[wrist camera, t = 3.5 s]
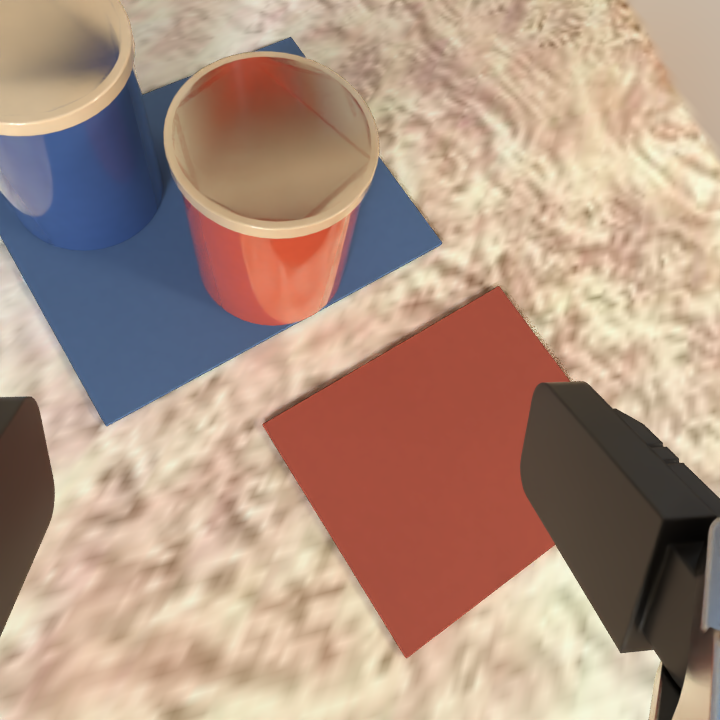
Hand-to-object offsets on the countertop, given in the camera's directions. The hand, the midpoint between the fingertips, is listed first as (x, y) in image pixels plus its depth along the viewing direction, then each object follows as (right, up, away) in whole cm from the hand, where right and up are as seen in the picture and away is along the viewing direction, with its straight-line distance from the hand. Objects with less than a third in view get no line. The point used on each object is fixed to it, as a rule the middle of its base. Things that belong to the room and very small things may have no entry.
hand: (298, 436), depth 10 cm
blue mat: (-5, +8, +17) cm, 20 cm away
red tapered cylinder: (-3, +6, +17) cm, 18 cm away
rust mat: (+5, -2, +15) cm, 16 cm away
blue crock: (-11, +9, +17) cm, 21 cm away
